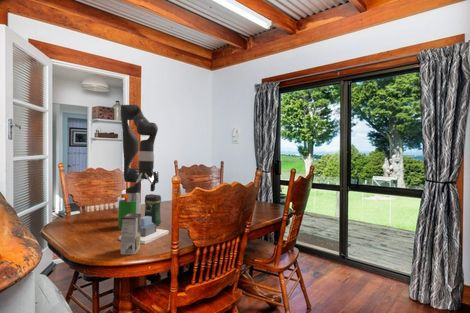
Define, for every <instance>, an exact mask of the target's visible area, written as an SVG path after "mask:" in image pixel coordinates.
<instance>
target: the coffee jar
mask: <svg viewBox="0 0 470 313" xmlns="http://www.w3.org/2000/svg"><path fill="white" fill-rule="evenodd" d="M161 203H162V196H161V195H160V194H153V193H151V194H146V195H145V196H144V217H145V216H150V217H152V223H154V224H156V227H157V226H160V225H161Z"/></svg>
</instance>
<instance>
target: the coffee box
mask: <svg viewBox="0 0 470 313" xmlns="http://www.w3.org/2000/svg"><path fill="white" fill-rule="evenodd" d="M141 218H142V213H141V214H137V213H127V214H126V215H125V216H123V217H122V221H121V229H120V233H121V234H120V236H121V240H120V255H136V253H138V251H139V250H140V249H141V243H140V234H141Z"/></svg>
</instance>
